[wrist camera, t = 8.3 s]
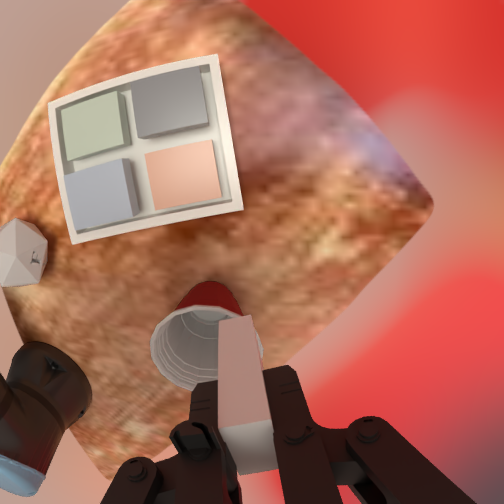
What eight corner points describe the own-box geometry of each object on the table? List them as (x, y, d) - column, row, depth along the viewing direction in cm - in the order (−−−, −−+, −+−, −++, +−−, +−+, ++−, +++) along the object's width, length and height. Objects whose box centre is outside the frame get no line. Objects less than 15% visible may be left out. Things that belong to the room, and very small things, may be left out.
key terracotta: (160, 207, 34) (155, 210, 31) (150, 154, 32) (144, 153, 30) (221, 194, 34) (221, 197, 32) (212, 141, 32) (211, 139, 30)
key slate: (84, 225, 32) (75, 230, 30) (73, 174, 30) (63, 175, 28) (139, 212, 32) (133, 217, 30) (129, 158, 31) (121, 158, 28)
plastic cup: (161, 328, 40) (143, 385, 28) (177, 252, 37) (157, 292, 26) (240, 346, 42) (246, 407, 30) (263, 274, 39) (279, 321, 27)
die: (41, 287, 38) (44, 301, 30) (-13, 273, 32) (-23, 284, 24) (53, 230, 39) (58, 229, 31) (-1, 214, 33) (-9, 209, 25)
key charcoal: (144, 139, 30) (137, 137, 28) (136, 87, 28) (130, 82, 26) (209, 125, 30) (208, 122, 28) (201, 72, 29) (199, 65, 26)
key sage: (77, 160, 31) (67, 160, 29) (71, 112, 30) (61, 110, 27) (131, 144, 32) (123, 143, 29) (123, 95, 30) (116, 90, 27)
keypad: (85, 236, 36) (72, 244, 32) (63, 107, 31) (47, 103, 27) (241, 204, 36) (243, 209, 33) (218, 64, 32) (217, 53, 28)
